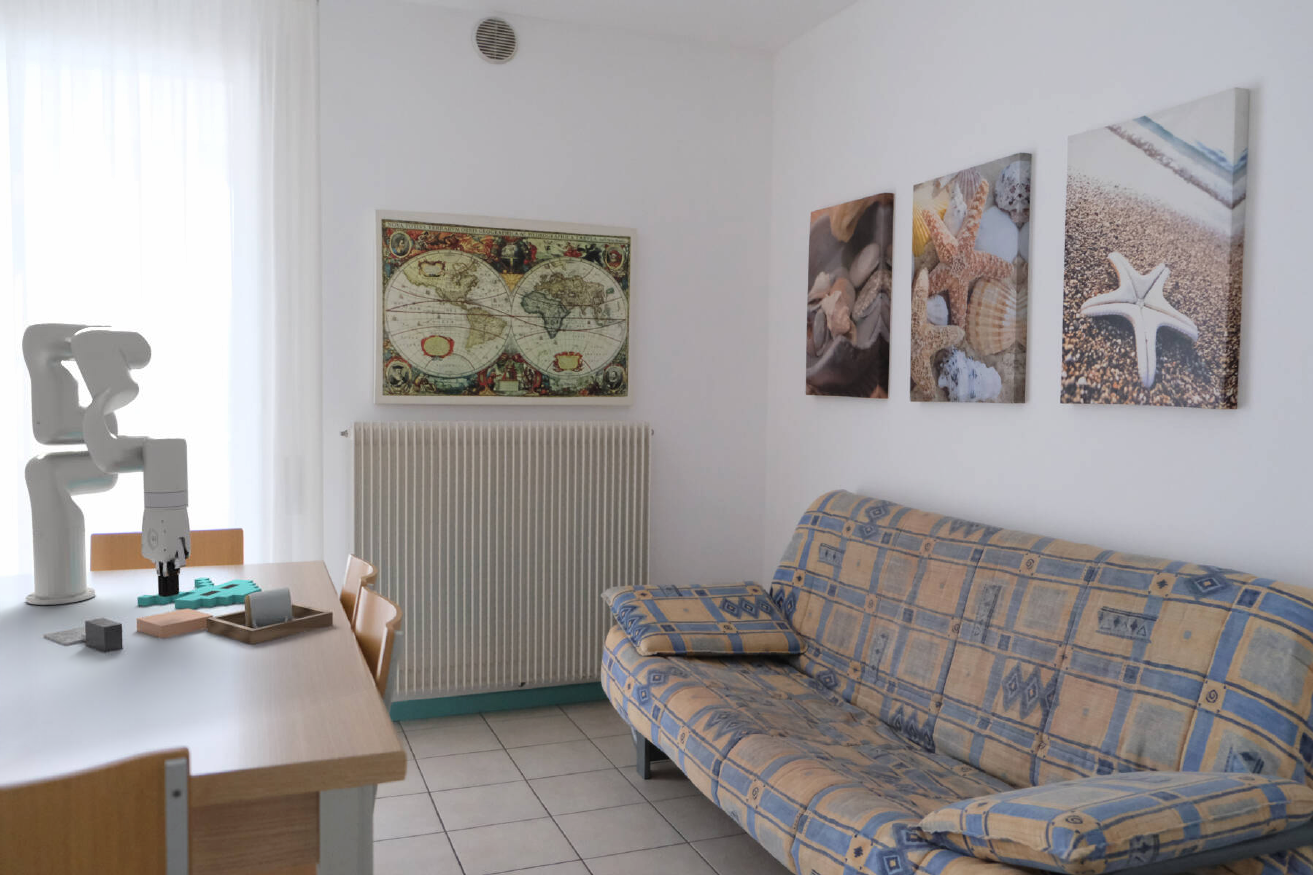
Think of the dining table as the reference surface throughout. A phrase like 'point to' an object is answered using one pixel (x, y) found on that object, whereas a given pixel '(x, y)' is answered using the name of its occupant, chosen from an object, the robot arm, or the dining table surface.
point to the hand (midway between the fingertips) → (168, 595)
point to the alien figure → (206, 594)
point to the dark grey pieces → (92, 635)
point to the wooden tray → (233, 624)
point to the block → (173, 623)
